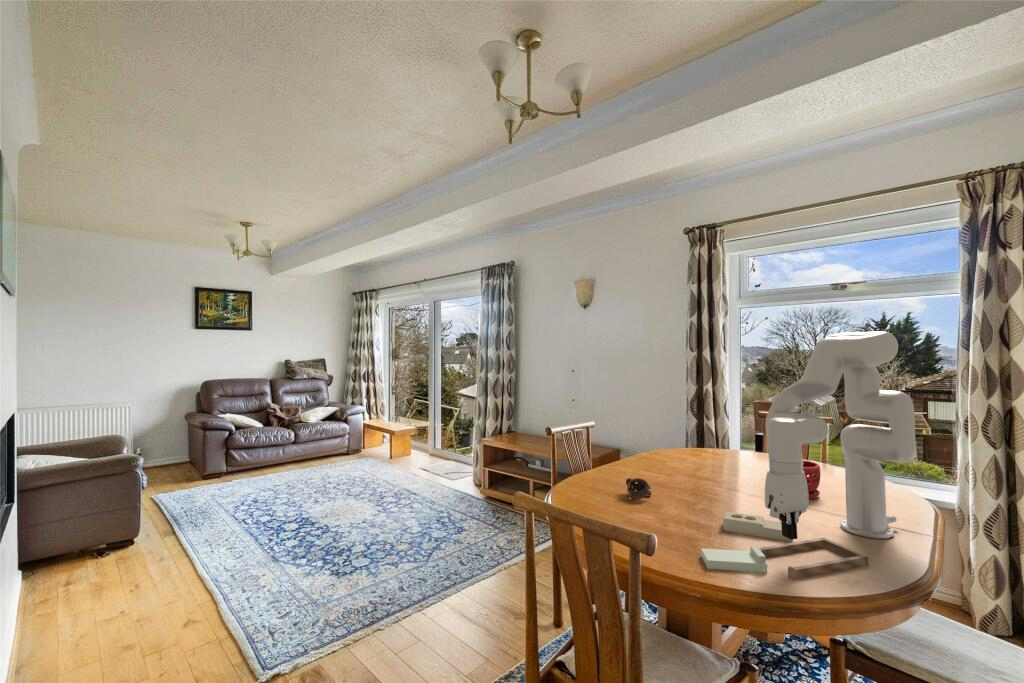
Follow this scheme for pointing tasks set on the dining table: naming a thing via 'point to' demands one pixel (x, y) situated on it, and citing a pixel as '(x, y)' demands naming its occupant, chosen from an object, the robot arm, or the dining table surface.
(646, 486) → the dark turtle figurine
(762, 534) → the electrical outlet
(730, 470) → the dining table surface
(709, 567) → the cover plate
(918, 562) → the dining table surface
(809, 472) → the plant pot
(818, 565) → the brown u-shaped frame
